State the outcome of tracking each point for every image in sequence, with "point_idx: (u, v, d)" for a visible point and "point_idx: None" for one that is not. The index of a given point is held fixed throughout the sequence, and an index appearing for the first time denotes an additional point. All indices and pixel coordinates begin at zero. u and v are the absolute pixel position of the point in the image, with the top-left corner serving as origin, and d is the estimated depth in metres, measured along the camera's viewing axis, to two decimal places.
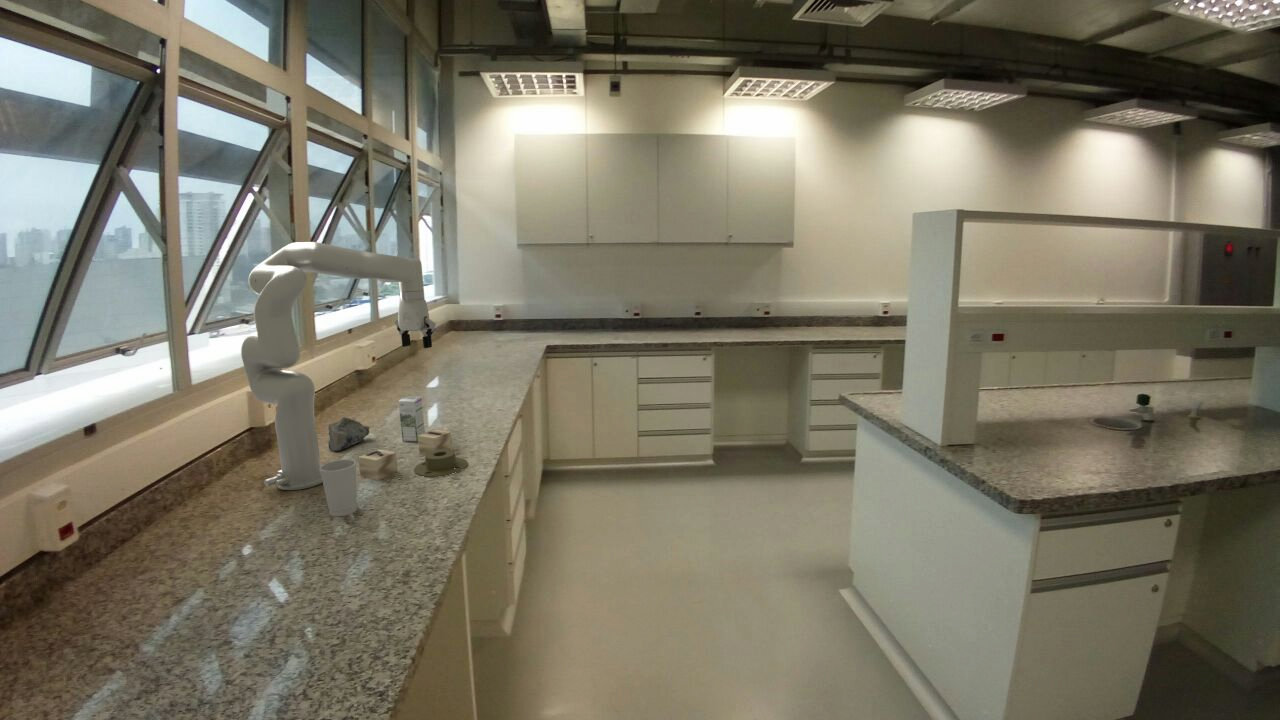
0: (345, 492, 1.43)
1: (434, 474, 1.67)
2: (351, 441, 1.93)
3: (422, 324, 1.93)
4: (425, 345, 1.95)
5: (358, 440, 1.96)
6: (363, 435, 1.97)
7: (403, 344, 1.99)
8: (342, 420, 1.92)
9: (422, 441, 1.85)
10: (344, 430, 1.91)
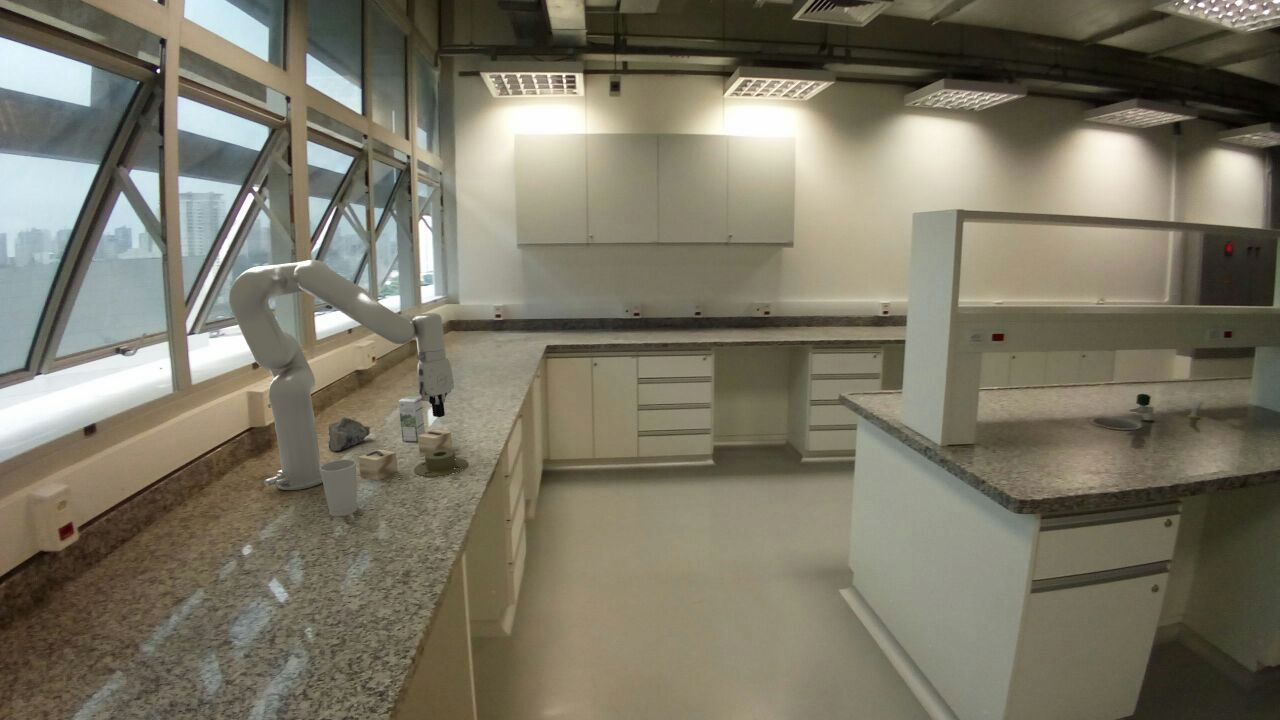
0: (345, 492, 1.43)
1: (434, 474, 1.67)
2: (351, 441, 1.93)
3: None
4: None
5: (359, 441, 1.96)
6: (363, 435, 1.97)
7: (441, 414, 1.74)
8: (342, 420, 1.92)
9: (422, 441, 1.85)
10: (344, 430, 1.91)
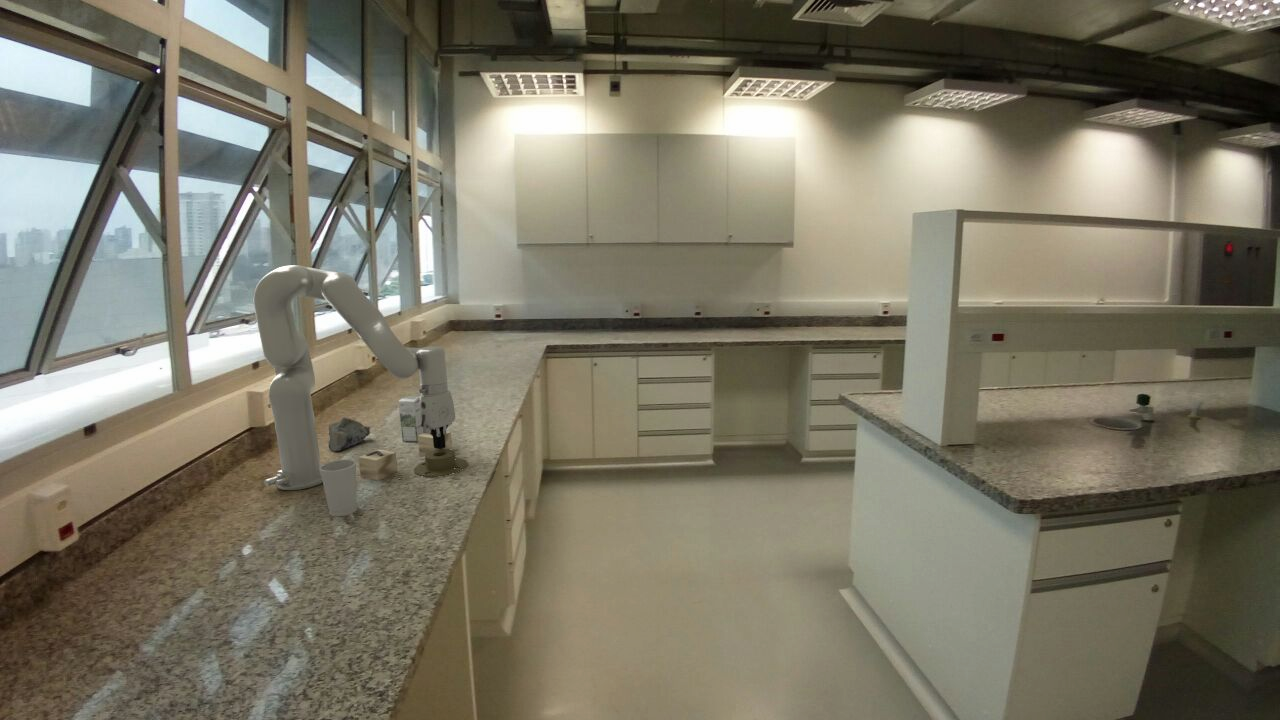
0: (345, 492, 1.43)
1: (434, 474, 1.67)
2: (351, 441, 1.93)
3: None
4: None
5: (359, 441, 1.95)
6: (363, 435, 1.96)
7: (442, 446, 1.76)
8: (342, 420, 1.92)
9: (422, 441, 1.85)
10: (344, 430, 1.91)
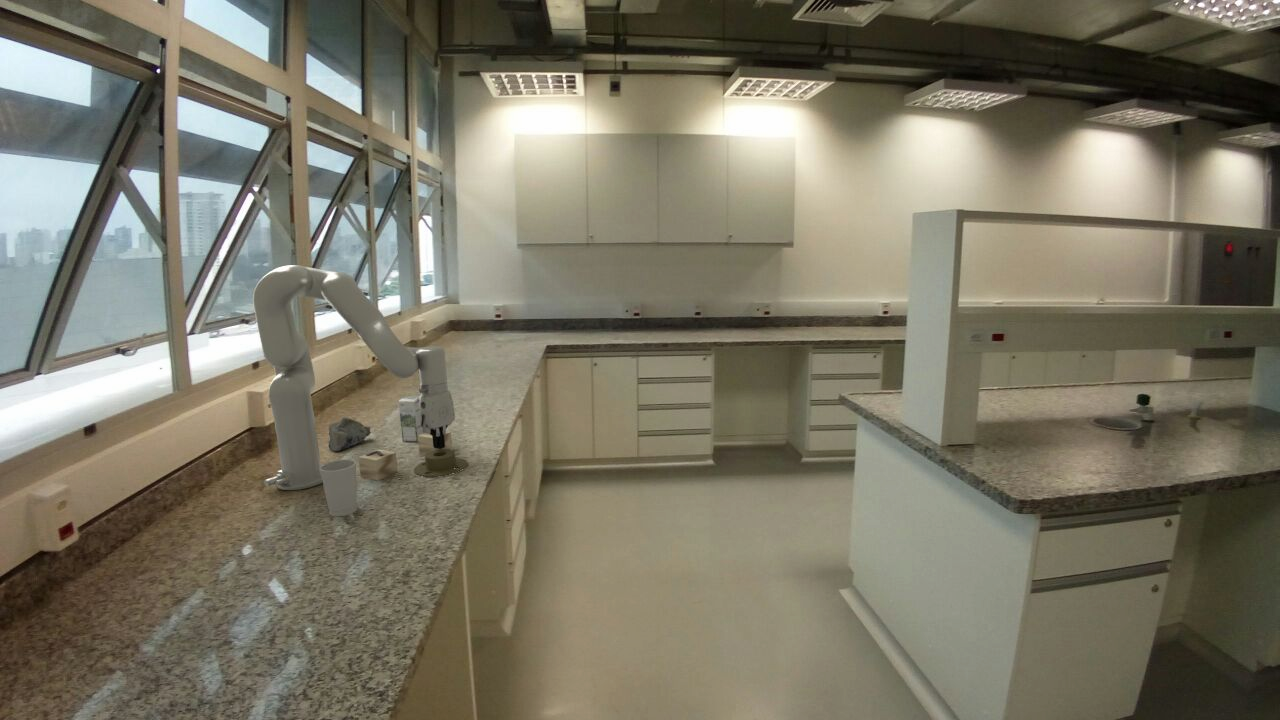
0: (345, 492, 1.43)
1: (434, 474, 1.67)
2: (351, 441, 1.93)
3: None
4: None
5: (359, 441, 1.95)
6: (364, 435, 1.96)
7: (441, 445, 1.76)
8: (342, 420, 1.92)
9: (422, 441, 1.85)
10: (344, 430, 1.91)
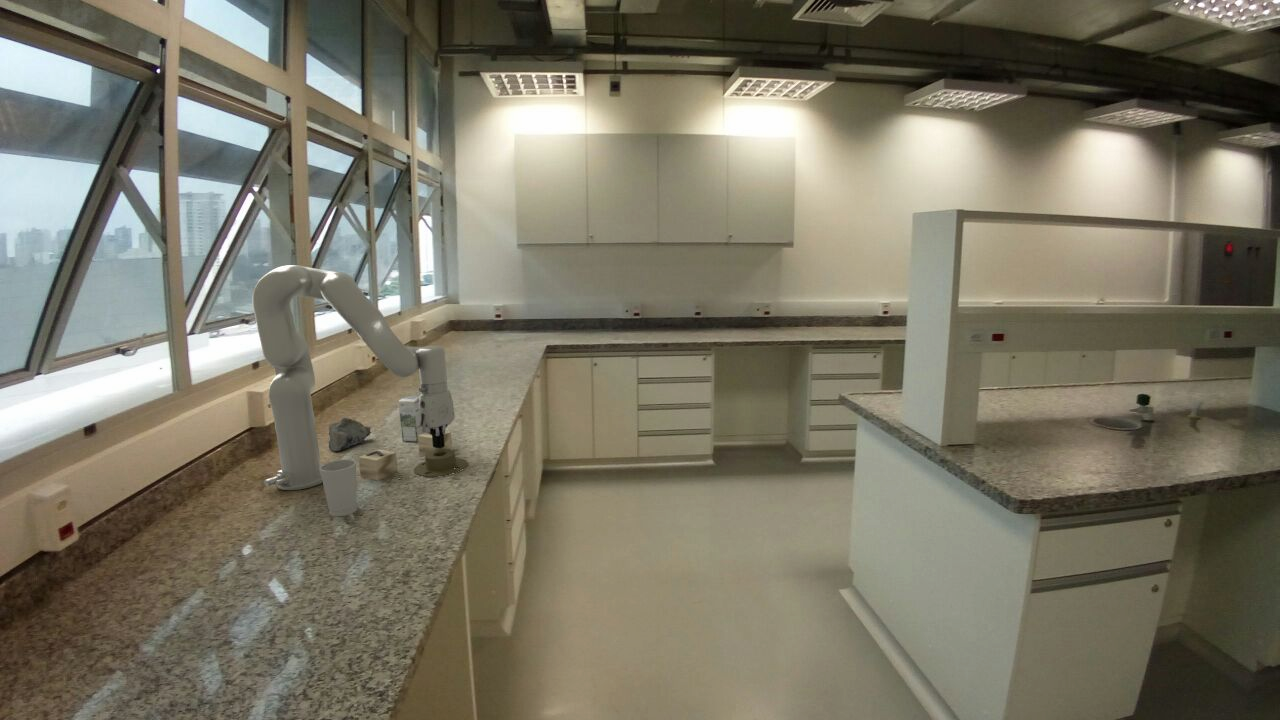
0: (345, 492, 1.43)
1: (434, 474, 1.67)
2: (351, 441, 1.93)
3: None
4: None
5: (359, 441, 1.95)
6: (364, 436, 1.96)
7: (441, 445, 1.76)
8: (342, 420, 1.91)
9: (422, 441, 1.85)
10: (344, 430, 1.91)
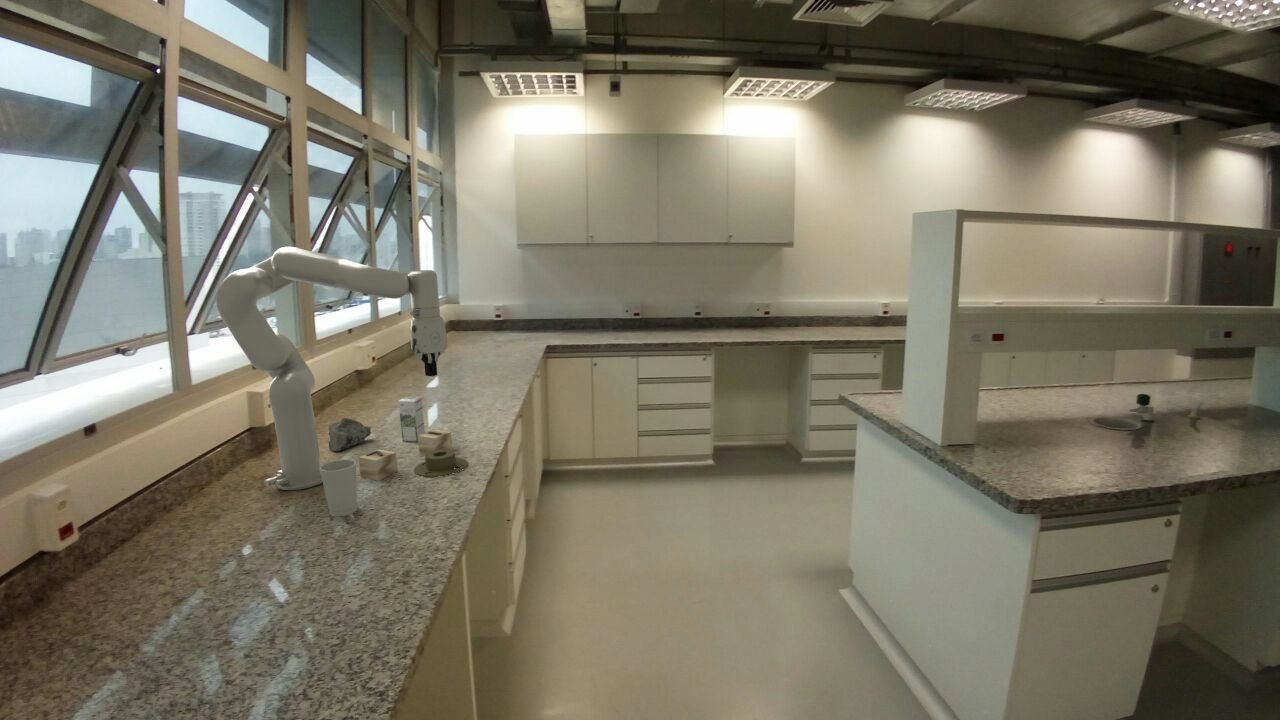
0: (345, 492, 1.43)
1: (434, 474, 1.67)
2: (351, 441, 1.92)
3: None
4: None
5: (359, 441, 1.95)
6: (364, 436, 1.96)
7: (434, 373, 1.72)
8: (342, 420, 1.91)
9: (422, 441, 1.85)
10: (344, 430, 1.91)
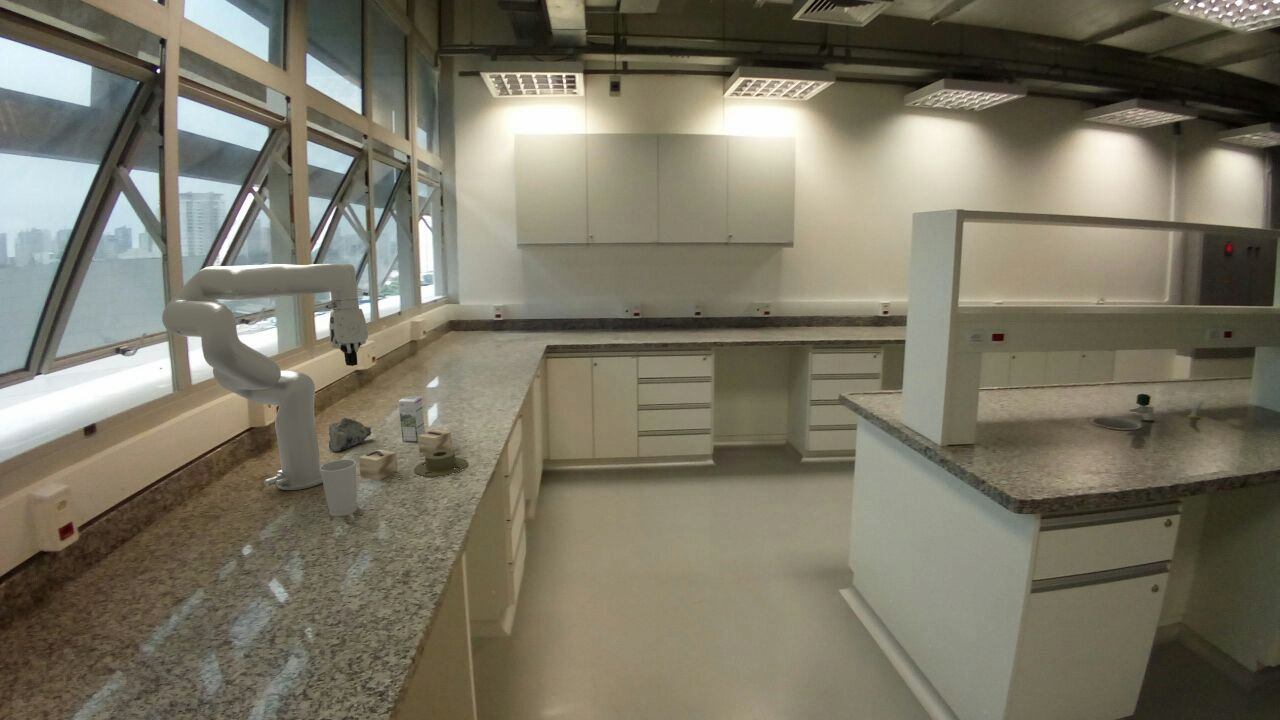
0: (345, 492, 1.43)
1: (434, 474, 1.67)
2: (351, 441, 1.92)
3: None
4: None
5: (359, 441, 1.95)
6: (364, 436, 1.96)
7: (353, 363, 1.79)
8: (342, 421, 1.91)
9: (422, 441, 1.85)
10: (344, 431, 1.91)
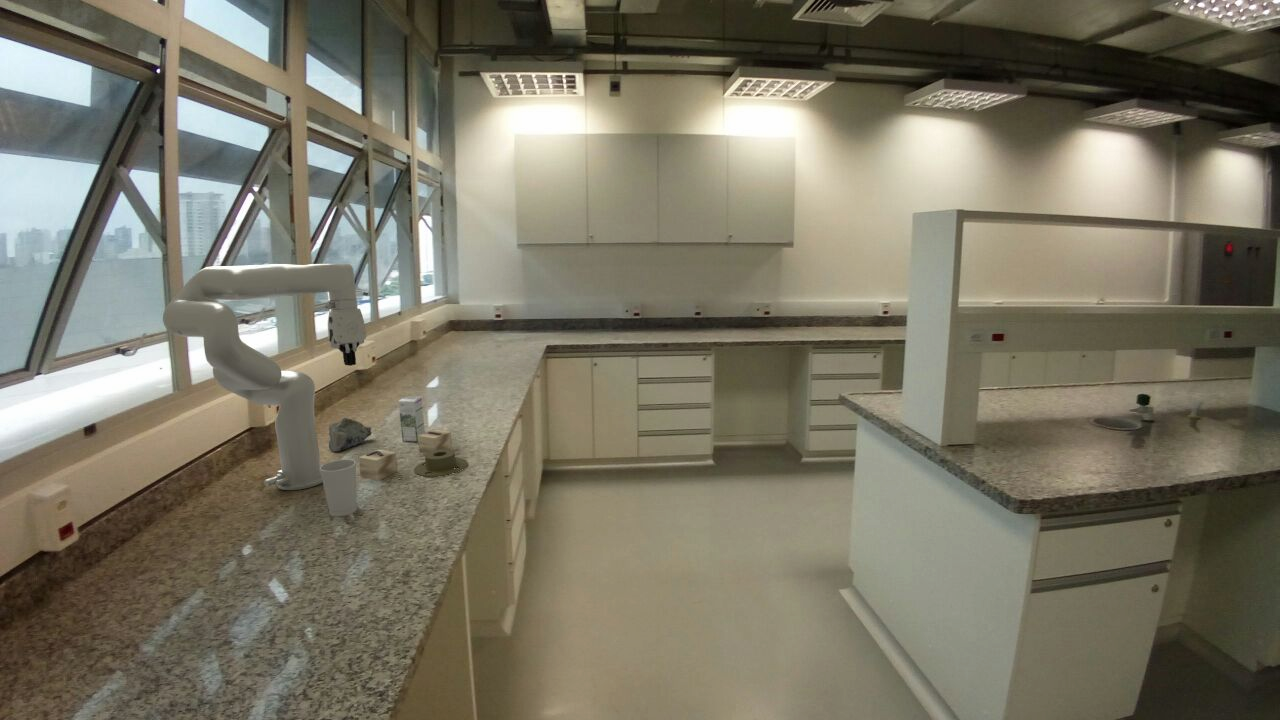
0: (345, 492, 1.43)
1: (434, 474, 1.67)
2: (351, 441, 1.92)
3: None
4: None
5: (359, 441, 1.95)
6: (364, 436, 1.96)
7: (352, 362, 1.80)
8: (343, 421, 1.91)
9: (422, 441, 1.85)
10: (344, 431, 1.91)
